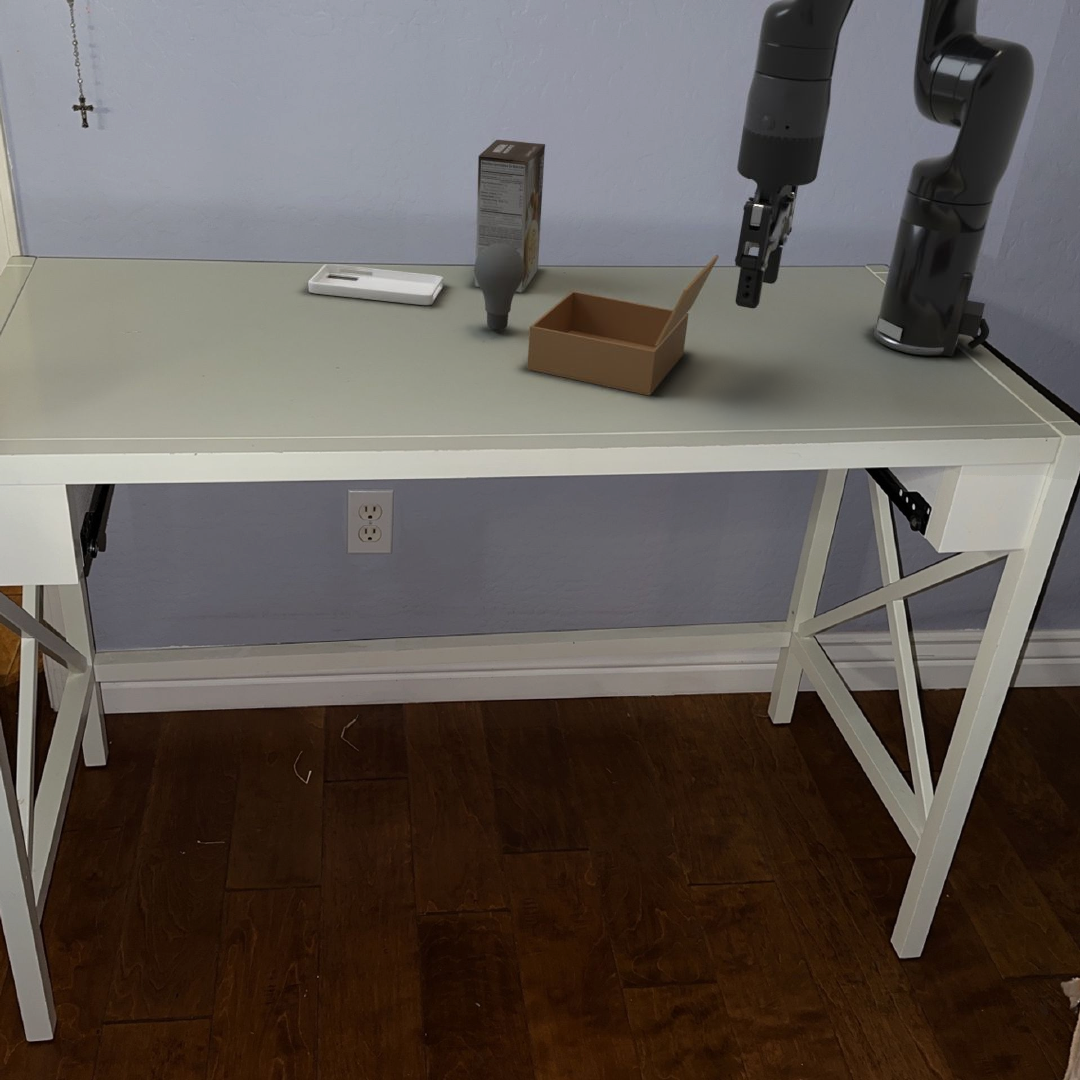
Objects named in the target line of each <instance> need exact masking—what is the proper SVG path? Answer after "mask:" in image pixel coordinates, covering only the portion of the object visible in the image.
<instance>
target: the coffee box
mask: <svg viewBox="0 0 1080 1080" xmlns="http://www.w3.org/2000/svg"><path fill="white" fill-rule="evenodd" d="M545 151H546V143H537V142H535V143H534V142H524V141H516V140H506V139H495V140H494V141H493V142H492V143H491V144H490V145H489V146H488V147H487V148H485V150H483V151H482V152H481V153H480V154H479V155H477V156H478V157H477V159H478V160H477V161H478V162H477V163H478V164H477V165H478V166H477V196H476V197H477V199H476V227H475V228H476V233H475V234H476V235H475V259H476V258H477V256H478V255H479V253H480V252H481V251H482V250H483V249H484V248H486V247H487V246H489V245H492V244H497V243H502V244H507V245H509V246H511V247H513V248H514V249H516V250H517V251H518V252H519V254H520V255H521V257H522V259H523V262H524V266H525V272H524V277H523V280H522V282H521V284H520V285H519V287H518V289H517V290H516V292H515V293H524V291H525V290H526V288H527V287H528V285H529V284H530V282H531V281H532V280H533V278H534V276H535V275H536V274H537V272H538V270H539V255H540V241H541V240H540V238H541V223H542V222H541V220H542V205H543V204H542V203H543V202H542V201H543V187H544V167H545V154H546V153H545ZM474 287H476V288H480V286H479V284H478V282H477V279H476V277H475V276H474Z"/></svg>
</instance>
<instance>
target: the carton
mask: <svg viewBox="0 0 1080 1080" xmlns="http://www.w3.org/2000/svg"><path fill="white" fill-rule="evenodd" d="M673 310H674V309H669V308H664V307H659V306H653V305H649V304H643V303H638V302H633V301H627V300H623V299H622V300H621V299H617V298H612V297H607V296H601V295H595V294H592V293H591V294H590V293H585V292H582V291H575V290H571V291H570V292H569V293H568V294H567V295H565V296H564V297H562V299H560V300H559V301H557V303H556V304H555V305H553V306H552V307H551V308H550V309H549V310H548V311H547V312H545V313H544V314H543V315H542V316H540V317H539V318H538V319H537V320H536V321H534V322H533V323H532V324H531V325H530V326H529V333H528V334H529V335H528V350H527V351H528V352H527V366H526V367H527V368H526V369H527V370H529V371H533V372H538V373H543V374H547V375H552V376H556V377H557V376H558V377H561V378H566V379H569V380H570V379H571V380H575V381H579V382H585V383H589V384H594V385H598V386H603V387H608V388H612V389H618V390H622V391H626V392H630V393H635V394H639V395H645V396H651V395H652V394H653V393H654V391H655V390H656V389H657V388H658V386H659V385H660V384H661V383H662V381H663V380H664V379H665V377H666V376H667V375H668V374H669V373H670V371H671V370H672V369H673V368H674V367H675V365H676V364H677V363H678V362H679V360H680V359H681V358H682V357H683V355H684V351H685V343H686V338H687V337H686V336H687V329H688V322H689V312H687V313H686V314H685V316H684V317H683V318H682V319H681V320H680V321H679V323H678V324H677V325H676V326H675V327H674V328H673V329H672V331H671V332H670V333H669V334H668V335H667V336H666V337H665V339H664V340H663V341H662V342H661V343H660V344H659V345H658V347H657V346H655V344H656V342H657V340H658V338H659V337H660V335H661V333H662V331H663V329H664V327H665V325H666V323H667V321H668V320H669V318H670V316H671V314H672V312H673Z"/></svg>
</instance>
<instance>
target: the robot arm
mask: <svg viewBox="0 0 1080 1080" xmlns="http://www.w3.org/2000/svg"><path fill="white" fill-rule="evenodd" d="M854 1H855V0H777V1H774V2H772V3H771V4H769V6H768V7H767V8H766V9H765V11H764V13H763V18H762V21H761V26H760V31H759V39H758V45H757V50H756V51H757V52H756V58H755V64H754V70H753V76H752V80H751V83H750V85H749V90H748V94H747V99H746V105H745V113H744V118H743V126H742V130H741V131H742V133H741V139H740V145H739V151H738V159H737V165H736V169H737V172H738V174H740V176H742V177H743V178H745V179H746V180H752V181H753V182H755V183H756V189H755V191H754V192H753V196H748V199H747V200H746V202H745V204H744V205H743V214H742V221H741V226H740V231H739V232H740V233H739V239H738V245H737V250H736V256H735V257H734V262H735V263H734V264H735V267H738V268H740V269H739V274H738V282H737V289H736V294H735V304H736V305H737V306H739V307H742V308H748V309H756V308H757V307H758V306H759V305H760V303H761V302H760V300H761V295H762V289H763V283H764V284H769V285H772V284H775V283H776V281H777V280H778V277H779V271H780V266H781V259H782V255H783V253H782V252H783V249H784V247H786V246H785V245H786V244H787V242H788V237H787V236H790V234H791V233H792V231H793V227H792V226H793V219H794V214H795V207H796V202H797V196H798V190H799V186H801V187H802V186H806V185H810V184H811V183H814V182H815V180H816V179H817V177H818V171H819V167H820V161H821V156H822V150H823V145H824V140H825V136H826V135H825V134H826V130H827V124H828V118H829V112H830V108H831V107H830V106H831V97H832V95H831V94H832V84H833V83H832V82H833V75H834V70H835V65H836V61H837V54H838V49H839V43H840V36H841V32H842V29H843V26H844V24H845V22H846V19H847V17H848V15H849V12H850V10H851V8H852V6H853V4H854ZM978 8H979V0H923V5H922V10H921V18H920V25H919V32H918V40H917V47H916V54H915V61H914V70H913V83H912V84H913V85H912V86H913V87H912V88H913V98H914V104H915V107H916V109H917V111H918V113H919V114H920V115H921V116H922V118H924V119H926V120H928V121H930V122H932V123H936V124H939V125H942V126H946V127H950V128H953V129H957V130H959V131H958V135H957V138H956V140H955V143H954V145H953V148H952V150H951V151H950V152H949V153H947V154H946V155H942V156H935V157H934V156H933V157H928V158H923V159H919V160H918V161H917V162H915V163H914V164H913V166H912V167H911V170H910V172H909V173H910V174H909V177H908V181H907V186H906V191H905V195H904V200H903V204H902V210H901V213H900V218H899V222H898V227H897V231H896V237H895V241H894V245H893V250H892V254H891V259H890V263H889V268H888V273H887V276H886V280H885V281H886V282H885V286H884V289H883V295H882V299H881V303H880V309H879V313H878V316H877V319H876V320H877V321H876V324H875V326H874V330H873V331H874V332H873V337H874V338H875V339H876V340H877V341H878V342H879V343H880V344H882V345H883V346H886V347H887V348H890V349H893V350H895V351H899V352H902V353H906V354H911V355H916V356H917V355H919V356H944V357H945V356H947V357H954V354H955V350H956V348H957V345H958V340H959V335H962V336H966V337H972V338H973V339H971V340H970V341H968V342H967V344H966V345H967V346H968V347H969V349H970V350H973V349H975V348H977V347H978V346H980V345H981V344H983V343H984V342H985V341H986V340H987V339H988V337H989V334H990V327H989V325H988V323H987V321H986V319H985V318H983V315H984V312H985V311H984V310H985V306H986V303H984V302H980V301H979V302H978V301H974V300H969V295H970V292H971V288H972V284H973V281H974V278H975V273H976V270H977V269H976V268H977V265H978V261H979V258H980V257H979V256H980V253H981V249H982V245H983V241H984V237H985V233H986V229H987V225H988V222H989V218H990V215H991V210H992V207H993V203H994V199H995V197H996V192H997V189H998V188H999V187H998V186H999V185H1000V183H1001V181H1002V179H1003V177H1004V176H1005V174H1006V172H1007V170H1008V168H1009V165H1010V162H1011V159H1012V156H1013V154H1014V153H1013V152H1014V149H1015V146H1016V143H1017V140H1018V136H1019V133H1020V130H1021V127H1022V124H1023V121H1024V118H1025V115H1026V112H1027V110H1028V106H1029V102H1030V98H1031V95H1032V91H1033V87H1034V79H1035V63H1034V58H1033V54H1032V53H1031V51H1030V49H1029V48H1028V47H1027V46H1025V45H1023V44H1021V43H1019V42H1015V41H1012V40H1008V39H1002V38H996V37H994V36H993V37H992V36H988V35H982V34H979V33H978V31H977V18H978ZM752 248H758V250H757V251H758V252H757V255H753V254H750V251H751V249H752ZM979 330H980V333H979ZM978 333H979V334H978Z"/></svg>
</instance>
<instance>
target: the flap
mask: <svg viewBox="0 0 1080 1080" xmlns="http://www.w3.org/2000/svg"><path fill="white" fill-rule="evenodd" d="M719 257H720V255H718V254H716V255H715V256H714V257H713V258H712V259H711V260H710V261H709V262H708V263H707V264H706V265H705V266H704V268H702V269H701V271H700V272H699V273H698V274H697V275H696V276H695V277H694V278H693V279H692V280H691V281H690V283H689V284H688V285H687V286H686V287H685V288H684V289H683V291H682V293H681V295H680V296H679V299H678V300H677V302H676V304H675V306H674V308H673V309H672V310H673V312H672V314H671V316H670V318H669V320H668V321H667V323H666V325H665V327H664V329H663V331H662V333H661V335H660V337H659V338H658V340H657V342H656V344H655V346H657V347H658V345H659V344H660V343H661V342H662V341H663V340H664V339H665V337H666V336H667V335H668V334H669V333H670V332H671V331H672V329H673V328H674V327H675V326H676V325H677V324H678V323H679V321H680V320H681V319H682V318H683V317H684V316H685V314H686V313H689V311H690V310H691V309H692V307H693V306H694V303H695V302H696V299H697V298H698V296H699V294H700V292H701V290H702V288H703V287H704V285H705V283H706V281H707V279H708V277H709V276H710V274H711V272H712V270H713V268H714V266H715V265H716V263H717V261H718V259H719Z"/></svg>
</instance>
